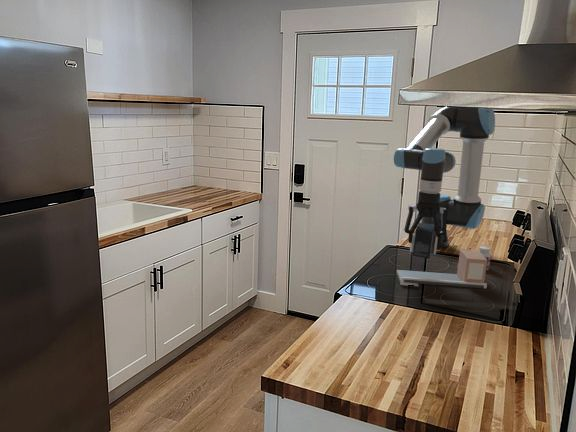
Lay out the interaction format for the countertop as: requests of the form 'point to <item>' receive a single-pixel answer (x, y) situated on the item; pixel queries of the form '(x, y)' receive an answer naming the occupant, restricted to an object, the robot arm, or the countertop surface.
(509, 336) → the countertop surface
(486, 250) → the pill bottle
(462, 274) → the faced carton
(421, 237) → the small box
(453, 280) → the shelf
